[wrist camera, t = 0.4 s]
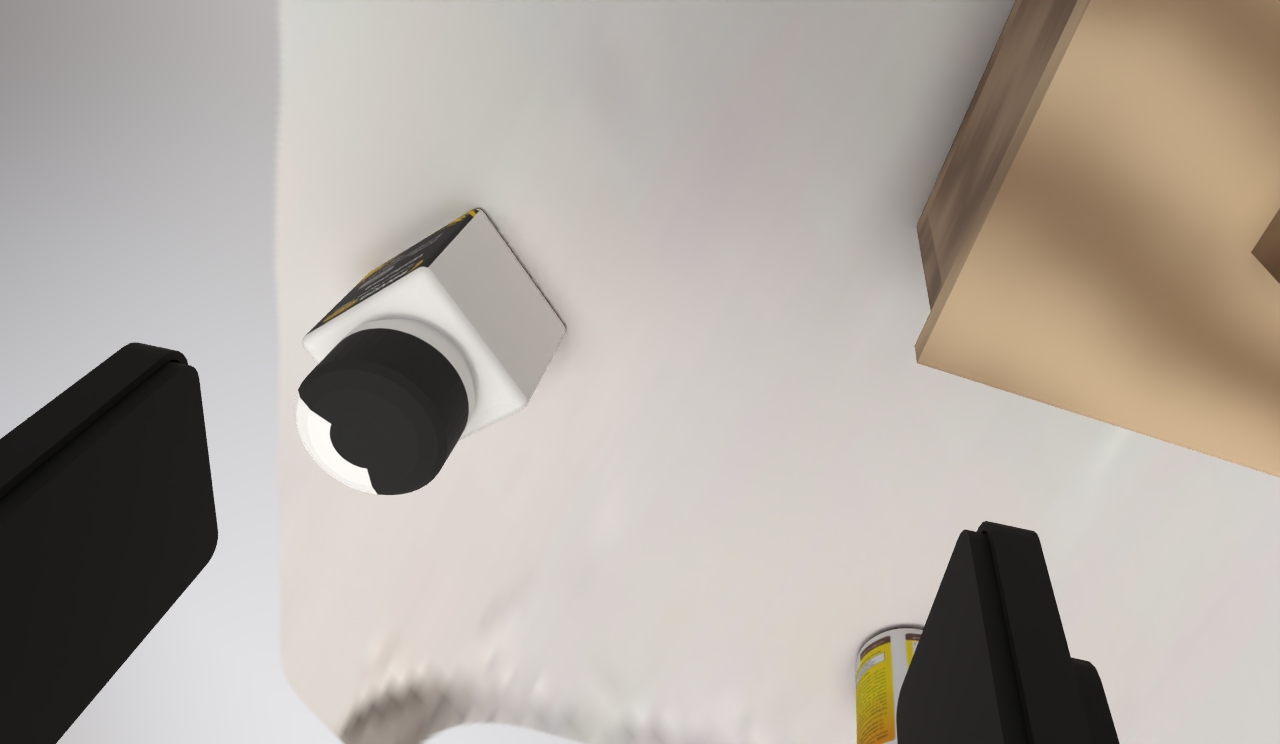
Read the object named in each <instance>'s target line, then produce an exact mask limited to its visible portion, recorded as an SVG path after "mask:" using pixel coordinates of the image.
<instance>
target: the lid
mask: <svg viewBox="0 0 1280 744" xmlns="http://www.w3.org/2000/svg"><path fill="white" fill-rule="evenodd" d="M915 351H916V359H917V363H919V364H922V365H925V366H928V367H932V368H935V369H938V370H941V371H944V372H947V373H951V374H954V375H957V376H960V377H963V378H966V379H970V380H973V381H976V382H979V383H982V384H985V385H989V386H992V387H995V388H998V389H1001V390H1004V391H1008V392H1011V393H1014V394H1017V395H1020V396H1023V397H1027V398H1030V399H1033V400H1036V401H1039V402H1042V403H1046V404H1049V405H1052V406H1055V407H1058V408H1061V409H1065V410H1068V411H1071V412H1074V413H1077V414H1080V415H1084V416H1087V417H1090V418H1093V419H1096V420H1099V421H1103V422H1106V423H1109V424H1112V425H1115V426H1118V427H1122V428H1125V429H1128V430H1131V431H1134V432H1137V433H1141V434H1144V435H1147V436H1150V437H1153V438H1156V439H1160V440H1163V441H1166V442H1169V443H1172V444H1175V445H1179V446H1182V447H1185V448H1188V449H1191V450H1195V451H1198V452H1201V453H1204V454H1207V455H1210V456H1214V457H1217V458H1220V459H1223V460H1226V461H1229V462H1233V463H1236V464H1239V465H1242V466H1245V467H1248V468H1252V469H1255V470H1258V471H1261V472H1264V473H1267V474H1271V475H1274V476H1277V477H1280V0H1077V3H1076V5H1075V7H1074V9H1073V11H1072V13H1071V15H1070V17H1069V19H1068V22H1067V24H1066V26H1065V28H1064V30H1063V32H1062V34H1061V36H1060V39H1059V41H1058V43H1057V45H1056V47H1055V49H1054V51H1053V53H1052V56H1051V58H1050V60H1049V62H1048V64H1047V66H1046V68H1045V70H1044V73H1043V75H1042V77H1041V79H1040V81H1039V83H1038V85H1037V87H1036V89H1035V92H1034V94H1033V96H1032V98H1031V100H1030V102H1029V104H1028V106H1027V109H1026V111H1025V113H1024V115H1023V117H1022V119H1021V121H1020V123H1019V126H1018V128H1017V130H1016V132H1015V134H1014V136H1013V138H1012V140H1011V142H1010V145H1009V147H1008V149H1007V151H1006V153H1005V155H1004V157H1003V159H1002V162H1001V164H1000V166H999V168H998V170H997V172H996V174H995V176H994V179H993V181H992V183H991V185H990V187H989V189H988V191H987V193H986V196H985V198H984V200H983V202H982V204H981V206H980V208H979V210H978V212H977V215H976V217H975V219H974V221H973V223H972V225H971V227H970V229H969V232H968V234H967V236H966V238H965V240H964V242H963V244H962V246H961V249H960V251H959V253H958V255H957V257H956V259H955V261H954V263H953V265H952V268H951V270H950V272H949V274H948V276H947V278H946V280H945V282H944V285H943V287H942V289H941V291H940V293H939V295H938V297H937V299H936V302H935V304H934V306H933V308H932V310H931V312H930V314H929V316H928V318H927V321H926V323H925V325H924V327H923V329H922V331H921V333H920V335H919V338H918V340H917V342H916V344H915Z"/></svg>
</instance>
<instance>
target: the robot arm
mask: <svg viewBox="0 0 1280 744" xmlns="http://www.w3.org/2000/svg"><path fill="white" fill-rule="evenodd" d="M217 540H218V529H217V521H216V512H215V504H214V496H213V488H212V480H211V472H210V464H209V455H208V447H207V439H206V431H205V422H204V414H203V406H202V398H201V391H200V382H199V376H198V372H197V371H196V369H195V368H194V367H192V366H189V365H188V363H187V359H186V358H185V356H184V355H183V354H182V353H180V352H179V351H174V350H170V349H166V348H161V347H156V346H151V345H147V344H142V343H130V344H128V345H126V346H124V347H123V348H121V349H120V350H119V351H117V352H116V353H115V354H113V355H112V356H111V357H109V358H108V359H107V360H105V361H104V362H103V363H101V364H100V365H99V366H98V367H96V368H95V369H93V370H92V371H91V372H89V373H88V374H87V375H85V376H84V377H83V378H81V379H80V380H79V381H77V382H76V383H75V384H73V385H72V386H71V387H69V388H68V389H67V390H65V391H64V392H63V393H62V394H60V395H59V396H58V397H56V398H55V399H53V400H52V401H51V402H49V403H48V404H47V405H45V406H44V407H43V408H41V409H40V410H39V411H37V412H36V413H35V414H33V415H32V416H31V417H29V418H28V419H27V420H25V421H24V422H23V423H21V424H20V425H19V426H17V427H16V428H15V429H13V430H12V431H11V432H9V433H8V434H7V435H5V436H4V437H3V438H1V439H0V744H56V743H57V742H58V740H59V739H60V738H61V737H62V736H63V734H64V733H65V732H66V731H67V730H68V729H69V727H70V726H71V725H72V724H73V723H74V721H75V720H76V719H77V718H78V716H80V714H81V713H82V712H83V711H84V710H85V708H86V707H87V706H88V705H89V704H90V702H91V701H92V700H93V699H94V698H95V696H96V695H97V694H98V693H99V692H100V691H101V689H102V688H103V687H104V686H105V685H106V683H107V682H108V681H109V680H110V679H111V677H112V676H113V675H114V674H115V673H116V671H117V670H118V669H119V668H120V667H121V666H122V664H123V663H124V662H125V661H126V660H127V658H128V657H129V656H130V655H131V654H132V653H133V651H134V650H135V649H136V648H137V646H138V645H139V644H140V643H141V642H142V641H143V639H144V638H145V637H146V636H147V635H148V633H149V632H150V631H151V630H152V629H153V628H154V626H155V625H156V624H157V623H158V622H159V620H160V619H161V618H162V617H163V616H164V614H165V613H166V612H167V611H168V610H169V609H170V607H171V606H172V605H173V604H174V603H175V601H176V600H177V599H178V598H179V597H180V596H181V594H182V593H183V592H184V591H185V590H186V588H187V587H188V586H189V585H190V584H191V582H192V581H193V580H194V579H195V578H196V577H197V575H198V574H199V573H200V572H201V571H202V569H203V568H204V567H205V566H206V565H207V563H208V562H209V560H210V559H211V557H212V555H213V553H214V551H215V548H216V545H217ZM896 725H897V743H898V744H1119V740H1118V737H1117V733H1116V730H1115V727H1114V723H1113V720H1112V716H1111V713H1110V710H1109V706H1108V703H1107V699H1106V696H1105V692H1104V689H1103V686H1102V682H1101V679H1100V677H1099V675H1098V672H1097V670H1096V668H1095V667H1094V666H1093V665H1092V664H1091V663H1090V662H1089V661H1084V660H1080V659H1075V658H1071V657H1070V653H1069V649H1068V645H1067V642H1066V638H1065V634H1064V630H1063V627H1062V623H1061V619H1060V615H1059V611H1058V608H1057V604H1056V600H1055V596H1054V593H1053V589H1052V585H1051V581H1050V578H1049V574H1048V570H1047V566H1046V562H1045V559H1044V555H1043V551H1042V547H1041V544H1040V540H1039V537H1038V535H1037V533H1035V532H1034V531H1031V530H1026V529H1021V528H1016V527H1012V526H1007V525H1002V524H997V523H993V522H988V521H985V522H983V523H982V524H981V525H980V526H979V528H978V530H977V532H974V531H970V530H963V531H962V532H961V534H960V536H959V538H958V540H957V543H956V545H955V548H954V551H953V553H952V556H951V558H950V561H949V564H948V566H947V569H946V571H945V574H944V577H943V579H942V582H941V585H940V587H939V590H938V592H937V595H936V598H935V600H934V603H933V605H932V608H931V611H930V613H929V616H928V619H927V621H926V624H925V626H924V629H923V632H922V634H921V637H920V639H919V642H918V645H917V647H916V650H915V653H914V655H913V658H912V660H911V663H910V666H909V668H908V671H907V673H906V676H905V679H904V681H903V684H902V687H901V690H900V693H899V698H898V703H897V713H896Z"/></svg>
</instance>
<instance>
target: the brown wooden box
mask: <svg viewBox="0 0 1280 744" xmlns="http://www.w3.org/2000/svg"><path fill="white" fill-rule="evenodd" d="M1076 3H1077V0H1016V1H1015V4H1014V6H1013V8H1012V10H1011V13H1010V15H1009V17H1008V19H1007V22H1006V24H1005V26H1004V29H1003V31H1002V33H1001V35H1000V38H999V40H998V42H997V44H996V47H995V49H994V51H993V54H992V56H991V58H990V60H989V63H988V65H987V67H986V70H985V72H984V74H983V76H982V79H981V81H980V83H979V85H978V88H977V90H976V92H975V95H974V97H973V99H972V101H971V104H970V106H969V108H968V110H967V113H966V115H965V117H964V120H963V122H962V124H961V126H960V129H959V131H958V133H957V136H956V138H955V140H954V142H953V145H952V147H951V149H950V151H949V154H948V156H947V158H946V161H945V163H944V165H943V167H942V170H941V172H940V174H939V176H938V179H937V181H936V183H935V186H934V188H933V190H932V192H931V195H930V197H929V199H928V202H927V204H926V206H925V208H924V211H923V213H922V215H921V217H920V220H919V222H918V224H917V233H918V238H919V244H920V250H921V256H922V262H923V268H924V274H925V280H926V285H927V291H928V297H929V303H930V309H931V310H932V308H933V306H934V304H935V302H936V299H937V297H938V295H939V293H940V291H941V289H942V287H943V285H944V282H945V280H946V278H947V276H948V274H949V272H950V270H951V268H952V265H953V263H954V261H955V259H956V257H957V255H958V253H959V251H960V249H961V246H962V244H963V242H964V240H965V238H966V236H967V234H968V232H969V229H970V227H971V225H972V223H973V221H974V219H975V217H976V215H977V212H978V210H979V208H980V206H981V204H982V202H983V200H984V198H985V196H986V193H987V191H988V189H989V187H990V185H991V183H992V181H993V179H994V176H995V174H996V172H997V170H998V168H999V166H1000V164H1001V162H1002V159H1003V157H1004V155H1005V153H1006V151H1007V149H1008V147H1009V145H1010V142H1011V140H1012V138H1013V136H1014V134H1015V132H1016V130H1017V128H1018V126H1019V123H1020V121H1021V119H1022V117H1023V115H1024V113H1025V111H1026V109H1027V106H1028V104H1029V102H1030V100H1031V98H1032V96H1033V94H1034V92H1035V89H1036V87H1037V85H1038V83H1039V81H1040V79H1041V77H1042V75H1043V73H1044V70H1045V68H1046V66H1047V64H1048V62H1049V60H1050V58H1051V56H1052V53H1053V51H1054V49H1055V47H1056V45H1057V43H1058V41H1059V39H1060V36H1061V34H1062V32H1063V30H1064V28H1065V26H1066V24H1067V22H1068V19H1069V17H1070V15H1071V13H1072V11H1073V9H1074V7H1075V5H1076Z"/></svg>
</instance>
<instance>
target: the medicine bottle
mask: <svg viewBox="0 0 1280 744" xmlns="http://www.w3.org/2000/svg"><path fill="white" fill-rule="evenodd" d="M564 335H565V326H564V325H563V323H562V322H561V320H560V319H559V318H558V316H557V315H556V313H555V312H554V311H553V309H552V308H551V306H550V305H549V304H548V302H547V301H546V299H545V298H544V296H543V295H542V294H541V292H540V291H539V289H538V288H537V287H536V285H535V284H534V282H533V281H532V280H531V278H530V277H529V275H528V274H527V273H526V271H525V270H524V268H523V267H522V265H521V264H520V263H519V261H518V260H517V258H516V257H515V256H514V254H513V253H512V251H511V250H510V249H509V247H508V246H507V244H506V243H505V241H504V240H503V239H502V237H501V236H500V234H499V233H498V232H497V230H496V229H495V227H494V226H493V225H492V223H491V222H490V220H489V219H488V218H487V216H486V215H485V213H484V212H483V211H482V210H480V209H474V210H471V211H470V212H468V213H466V214H465V215H463V216H462V217H460V218H458V219H457V220H455V221H453V222H452V223H450V224H448V225H447V226H445V227H444V228H442V229H440V230H439V231H437V232H435V233H434V234H432V235H430V236H429V237H427V238H426V239H424V240H422V241H421V242H419V243H417V244H416V245H414V246H412V247H411V248H409V249H408V250H406V251H404V252H403V253H401V254H399V255H398V256H396V257H395V258H393V259H391V260H390V261H388V262H386V263H385V264H383V265H381V266H380V267H378V268H377V269H375V270H373V271H372V272H370V273H369V274H368V275H367V276H366V277H365V278H364V279H363V280H362V281H360V282H359V283H358V284H357V285H356V286H355V287H354V288H353V289H352V290H351V291H350V292H349V293H348V294H347V295H346V296H345V297H344V298H343V299H342V300H341V301H340V302H339V303H338V304H337V305H336V306H335V307H334V308H333V309H332V310H331V311H330V312H329V313H328V314H327V315H326V316H325V317H324V318H323V319H322V320H321V321H320V322H319V323H318V324H317V325H316V326H315V327H314V328H313V329H312V330H311V331H310V332H309V333H307V334H306V335H305V337H304V338H303V340H302V345H303V347H304V348H305V350H306V351H307V352H308V353H309V354H310V356H311V357H312V358H313V359H314V360H315V362H316V363H317V364H318V365H317V366H316V367H315V368H314V369H313V371H312V372H311V373H310V374H309V375H308V376H307V377H306V378H305V380H304V381H303V382H302V384H301V385H300V387H299V389H298V392H297V395H296V398H295V405H294V415H295V421H296V426H297V429H298V432H299V435H300V437H301V440H302V442H303V444H304V446H305V448H306V449H307V451H308V452H309V454H310V455H311V457H312V458H313V459H314V460H315V462H316V463H317V464H318V465H319V466H320V467H321V468H322V469H323V470H324V471H326V472H327V473H328V474H329V475H331V476H332V477H333V478H335V479H336V480H338V481H340V482H341V483H343V484H345V485H347V486H349V487H352V488H354V489H357V490H360V491H363V492H367V493H372V494H380V495H398V494H405V493H409V492H412V491H415V490H418V489H420V488H422V487H423V486H425V485H427V484H428V483H429V482H430V481H432V480H433V479H434V478H435V476H436V475H437V474H438V473H439V471H440V470H441V468H442V466H443V465H444V463H445V461H446V460H447V458H448V457H449V455H450V453H451V452H452V450H453V448H454V447H455V445H456V443H457V442H458V440H461V439H463V438H465V437H467V436H469V435H471V434H473V433H475V432H477V431H479V430H481V429H483V428H485V427H487V426H489V425H491V424H493V423H495V422H497V421H499V420H501V419H503V418H505V417H507V416H509V415H511V414H513V413H515V412H517V411H519V410H521V409H523V408H524V407H526V406H527V404H528V402H529V401H530V399H531V397H532V395H533V393H534V391H535V389H536V387H537V385H538V384H539V382H540V380H541V378H542V376H543V374H544V372H545V370H546V368H547V367H548V365H549V363H550V361H551V359H552V357H553V355H554V353H555V352H556V350H557V348H558V346H559V344H560V342H561V340H562V338H563V336H564Z"/></svg>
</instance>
